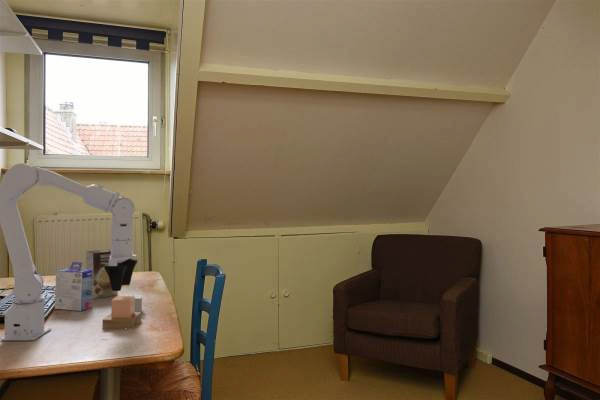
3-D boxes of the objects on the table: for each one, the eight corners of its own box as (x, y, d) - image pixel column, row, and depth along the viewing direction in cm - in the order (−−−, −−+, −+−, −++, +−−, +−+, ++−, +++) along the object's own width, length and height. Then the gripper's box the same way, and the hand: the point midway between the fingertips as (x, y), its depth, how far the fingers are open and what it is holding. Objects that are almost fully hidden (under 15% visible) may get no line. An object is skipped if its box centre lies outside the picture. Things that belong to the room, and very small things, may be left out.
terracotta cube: (130, 317, 128) (130, 299, 128) (111, 318, 127) (111, 300, 127) (134, 313, 133) (134, 295, 133) (116, 313, 132) (116, 295, 132)
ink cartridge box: (93, 307, 149) (93, 262, 148) (81, 311, 143) (82, 265, 143) (66, 305, 150) (66, 260, 150) (54, 309, 145) (54, 263, 145)
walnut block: (132, 330, 126) (132, 319, 126) (102, 330, 126) (102, 319, 126) (140, 322, 134) (141, 312, 134) (112, 322, 134) (113, 312, 134)
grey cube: (141, 314, 141) (141, 298, 141) (123, 315, 140) (124, 299, 140) (141, 310, 146) (141, 294, 146) (124, 311, 144) (125, 295, 144)
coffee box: (93, 299, 159) (94, 252, 159) (84, 296, 163) (85, 251, 163) (118, 294, 166) (118, 250, 166) (109, 292, 170) (109, 248, 170)
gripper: (128, 242, 123) (127, 293, 123) (143, 237, 137) (143, 282, 137) (100, 242, 122) (100, 293, 123) (119, 236, 137) (119, 282, 137)
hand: (121, 287), depth 130 cm, fingers open, 7 cm apart
